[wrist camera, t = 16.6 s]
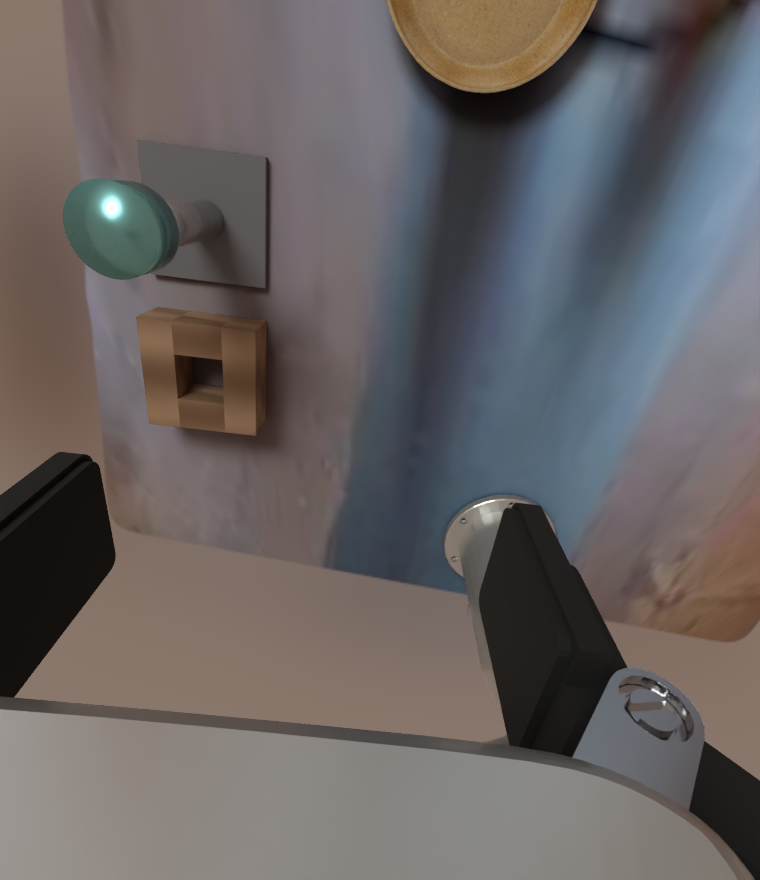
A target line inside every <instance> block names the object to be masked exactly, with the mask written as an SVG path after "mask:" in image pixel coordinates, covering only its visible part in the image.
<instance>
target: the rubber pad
mask: <svg viewBox="0 0 760 880" xmlns="http://www.w3.org/2000/svg"><path fill="white" fill-rule="evenodd" d="M137 143H138V153H139V163H140V172H141V182H142V184H144V185H146V186H148V187H149V188H151V189H153V190H154V191H155V192H157V193H158V194H159V195H160V196H161V197H162V198H163V199H164V200H208V201H211V202H213V203H214V204H215V205H217V206H218V208H219V209H220V210H221V212H222V214H223V217H224V228H223V231H222V233H221V234H220V235H219V236H218V237H216V238H214V239H210V240H206V241H202V242H198V243H194V244H189V245H185V246H181V247H178V249H177V252H176V254H175V256H174V258H173V260H172V261H171V262H170V263H169V264H168V265H167V266H165V267H164V268H162V269H160V270H157V271H154V272H151V274H154V275H162V276H170V277H178V278H186V279H194V280H202V281H210V282H218V283H226V284H234V285H242V286H250V287H258V288H267V172H268V158H266V157H260V156H253V155H246V154H238V153H231V152H223V151H216V150H209V149H201V148H194V147H187V146H179V145H172V144H165V143H157V142H150V141H142V140H137Z"/></svg>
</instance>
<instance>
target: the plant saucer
mask: <svg viewBox="0 0 760 880" xmlns="http://www.w3.org/2000/svg"><path fill="white" fill-rule="evenodd" d="M386 1H387V4H388V8H389V12H390V14H391V17H392V20H393V22H394V25H395V27H396V29H397V31H398V33H399V35H400V37H401V39H402V41H403V43H404V44H405V46H406V47H407V49H408V50H409V52H410V53H411V54H412V56H413V57H414V58H415V60H416V61H417V62H418V63H419V64H420V65H421V66H422V67H423V68H424V69H425V70H426V71H427V72H428V73H430V74H431V75H432V76H434V77H435V78H437V79H438V80H440V81H442V82H444V83H445V84H447V85H449V86H451V87H454V88H457V89H459V90H463V91H468V92H477V93H493V92H499V91H505V90H508V89H511V88H515V87H517V86H520V85H522V84H524V83H526V82H528V81H530V80H532V79H534V78H535V77H537V76H539V75H540V74H542V73H543V72H544V71H546V70H547V69H548V68H549V67H551V66H552V65H553V64H554V63H555V62H556V61H557V60H558V59H559V58H560V57H561V56H562V55H563V54H564V53H565V52H566V51H567V50H568V48H569V47H570V46H571V45H572V44H573V42H574V41H575V40H576V38H577V37H578V36H579V34H580V33H581V31H582V30H583V28H584V27H585V25H586V23H587V21H588V20H589V18H590V16H591V14H592V12H593V10H594V8H595V6H596V3H597V1H598V0H386Z"/></svg>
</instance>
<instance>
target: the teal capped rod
mask: <svg viewBox="0 0 760 880" xmlns="http://www.w3.org/2000/svg"><path fill="white" fill-rule="evenodd" d="M63 222H64V228H65V232H66V235H67V238H68V240H69V242H70V244H71V246H72V248H73V249H74V251H75V252H76V254H77V255H78V256H79V257H80V259H81V260H82V261H83V262H84V263H85V264H87V265H88V266H89V267H90V268H92V269H93V270H94V271H96V272H98V273H99V274H102V275H104V276H106V277H109V278H113V279H121V280H124V279H132V278H135V277H138V276H142V275H145V274H148V273H151V272H154V271H157V270H160V269H162V268H164V267H165V266H167V265H168V264H169V263H170V262H171V261H172V260H173V258H174V256H175V254H176V252H177V249H178V247H181V246H185V245H189V244H194V243H198V242H202V241H206V240H210V239H214V238H216V237H218V236H219V235H220V234H221V233H222V231H223V228H224V217H223V214H222V212H221V210H220V209H219V208H218V206H217V205H215V204H214V203H213V202H211V201H208V200H164V199H163V198H162V197H161V196H160V195H159V194H158V193H157V192H155V191H154V190H153V189H151V188H149V187H148V186H146V185H144V184H141V183H138V182H133V181H121V180H106V179H92V180H87V181H84V182H82V183H80V184H79V185H77V186H76V187H75V188H74V189H73V190H72V191H71V192H70V194H69V195H68V197H67V199H66V202H65V205H64V211H63Z"/></svg>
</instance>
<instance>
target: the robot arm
mask: <svg viewBox="0 0 760 880" xmlns="http://www.w3.org/2000/svg"><path fill="white" fill-rule="evenodd" d="M444 549H445V554H446V558H447V560H448V562H449V564H450V566H451V567H452V568H453V569H454V570H455V572H457V573H458V574H459V575H460V576H462V577H463V578H464V581H465V586H466V591H467V597H468V602H469V605H468V608H467V615H468V616H469V617H470V618H472V622H473V627H474V632H475V637H476V643H477V647H478V653H479V658H480V664H481V669H482V674H483V678H484V682H485V684H486V687H487V689H488V691H489V693H490V695H491V696H492V698H493V699H494V701H495V702H496V704H497V705H498V706H499V707H500V708H501V709H502V714H503V718H504V723H505V727H506V731H507V735H506V736H504V737H501V738H497V739H494V740H490V741H486V742H473V741H466V740H457V739H448V738H439V737H430V736H422V735H412V734H401V733H391V732H380V731H370V730H360V729H351V728H340V727H330V726H320V725H310V724H300V723H289V722H278V721H267V720H256V719H246V718H236V717H225V716H214V715H203V714H193V713H182V712H171V711H159V710H149V709H138V708H127V707H115V706H104V705H92V704H81V703H69V702H57V701H46V700H35V699H23V698H14V697H15V695H16V694H17V693H18V691H19V690H20V689H21V688H22V686H23V685H24V683H25V682H26V681H27V680H28V678H29V677H30V676H31V674H32V673H33V672H34V670H35V669H36V668H37V666H38V665H39V664H40V663H41V661H42V660H43V659H44V657H45V656H46V655H47V653H48V652H49V651H50V649H51V648H52V647H53V645H54V644H55V643H56V642H57V640H58V639H59V638H60V636H61V635H62V634H63V632H64V631H65V630H66V628H67V627H68V626H69V624H70V623H71V622H72V620H73V619H74V618H75V617H76V615H77V614H78V613H79V611H80V610H81V609H82V607H83V606H84V605H85V603H86V602H87V601H88V599H89V598H90V597H91V595H92V594H93V593H94V592H95V590H96V589H97V588H98V586H99V585H100V583H101V582H102V581H103V580H104V578H105V577H106V576H107V575H108V573H109V572H110V570H111V569H112V567H113V565H114V561H115V556H116V555H115V548H114V543H113V538H112V532H111V527H110V521H109V515H108V510H107V505H106V499H105V494H104V489H103V483H102V478H101V473H100V468H99V465H98V464H97V463H96V462H93V461H92V459H91V457H90V456H88V455H84V454H75V453H66V452H58V453H57V454H55V455H54V456H52V457H51V458H49V459H48V460H47V461H45V462H44V463H43V464H41V465H40V466H39V467H37V468H36V469H35V470H33V471H32V472H31V473H29V474H28V475H27V476H25V477H24V478H23V479H22V480H20V481H19V482H17V483H16V484H15V485H13V486H12V487H11V488H9V489H8V490H7V491H6V492H4V493H3V494H1V495H0V880H760V781H759V780H758V779H757V778H755V777H754V776H752V775H751V774H750V773H748V772H747V771H745V770H744V769H742V768H741V767H740V766H739V765H737V764H736V763H734V762H733V761H731V760H730V759H729V758H727V757H726V756H725V755H723V754H722V753H720V752H719V751H718V750H716V749H715V748H713V747H712V746H711V745H709V744H708V743H706V742H705V741H704V740H705V737H704V736H705V733H704V725H703V723H702V720H701V717H700V715H699V713H698V711H697V710H696V708H695V707H694V706H693V704H692V703H691V701H690V700H689V699H688V698H687V697H686V696H685V695H684V694H683V693H682V692H681V691H680V690H679V689H678V688H677V687H675V686H674V685H672V684H671V683H670V682H668V681H667V680H666V679H664V678H662V677H660V676H658V675H656V674H654V673H652V672H649V671H646V670H642V669H638V668H627V666H626V664H625V662H624V660H623V658H622V656H621V654H620V652H619V650H618V648H617V646H616V644H615V642H614V640H613V638H612V636H611V635H610V633H609V630H608V628H607V626H606V625H605V623H604V621H603V619H602V617H601V615H600V613H599V611H598V609H597V607H596V605H595V603H594V601H593V599H592V597H591V595H590V593H589V591H588V589H587V587H586V585H585V583H584V581H583V579H582V577H581V575H580V573H579V572H578V570H577V569H576V568H575V567H574V566H572V565H570V563H569V561H568V559H567V557H566V555H565V553H564V551H563V549H562V547H561V545H560V543H559V541H558V539H557V537H556V532H555V528H554V525H553V523H552V521H551V519H550V517H549V516H548V514H547V513H546V512H545V510H544V509H542V507H541V506H539V505H538V504H536V503H534V502H533V501H531V500H529V499H526V498H523V497H520V496H514V495H494V496H488V497H485V498H482V499H479V500H476V501H474V502H472V503H470V504H468V505H467V506H465V507H464V508H463V509H461V510H460V511H459V512H458V513H457V514H456V515H455V516H454V517H453V518H452V520H451V521H450V523H449V524H448V526H447V529H446V532H445V535H444Z"/></svg>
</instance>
